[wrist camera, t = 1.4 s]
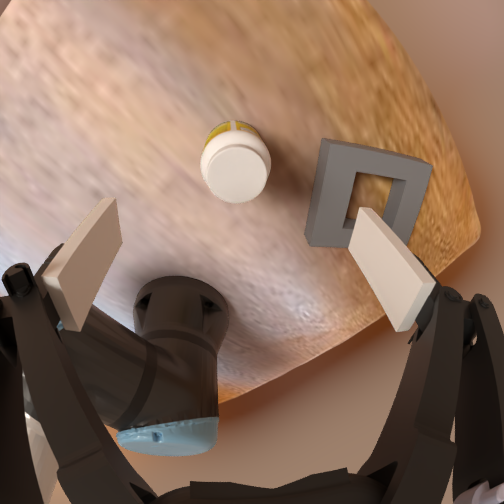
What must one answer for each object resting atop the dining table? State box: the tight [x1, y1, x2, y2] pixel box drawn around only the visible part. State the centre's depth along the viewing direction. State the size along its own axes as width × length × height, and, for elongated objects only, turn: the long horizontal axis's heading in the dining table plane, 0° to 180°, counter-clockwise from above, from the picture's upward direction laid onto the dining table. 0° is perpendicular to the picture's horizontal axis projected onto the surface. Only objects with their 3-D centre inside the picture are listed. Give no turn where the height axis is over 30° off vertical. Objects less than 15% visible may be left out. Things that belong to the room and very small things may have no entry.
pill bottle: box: [200, 120, 271, 204], centre depth 25 cm, size 6×6×11 cm
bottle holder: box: [304, 138, 433, 248], centre depth 33 cm, size 13×15×3 cm
